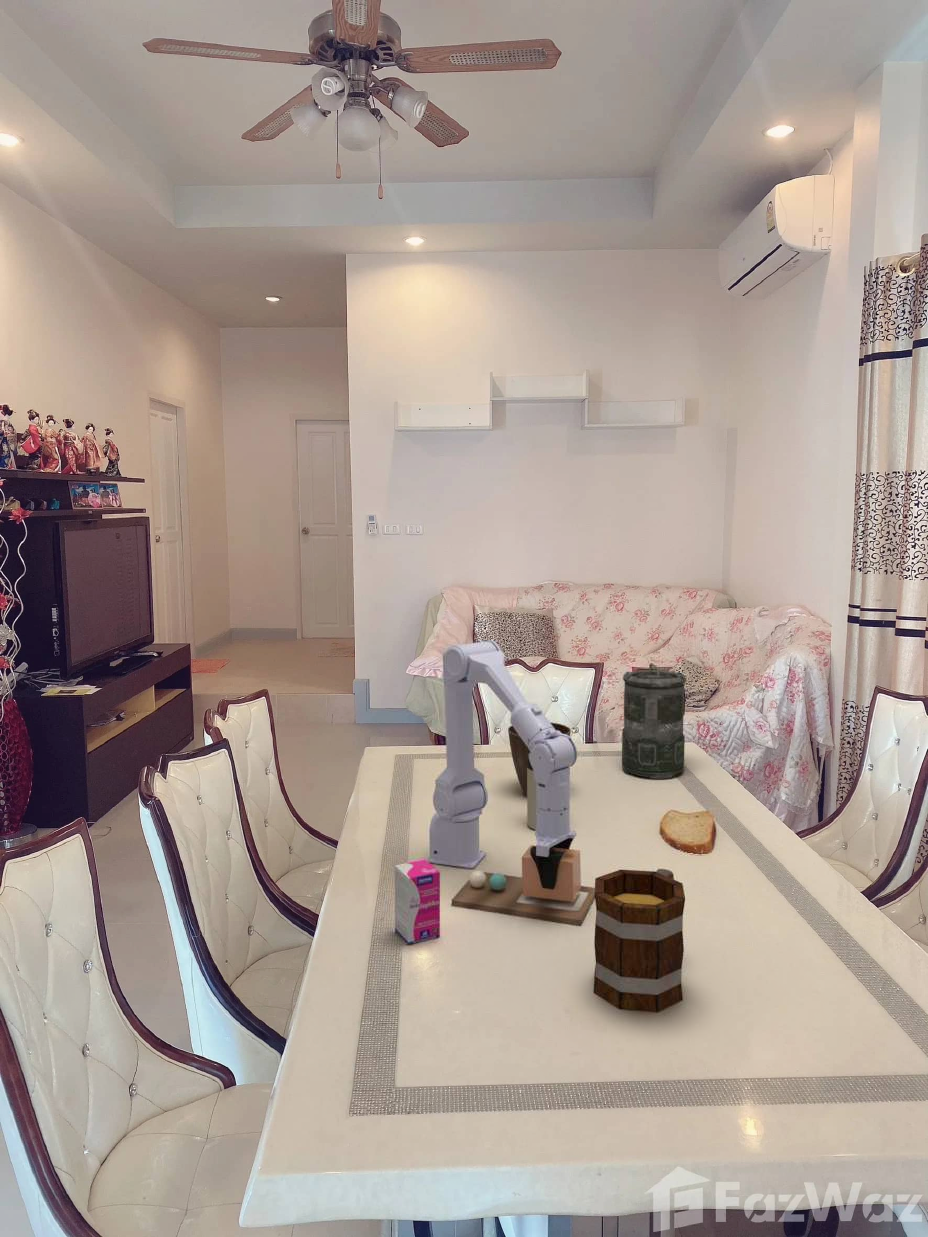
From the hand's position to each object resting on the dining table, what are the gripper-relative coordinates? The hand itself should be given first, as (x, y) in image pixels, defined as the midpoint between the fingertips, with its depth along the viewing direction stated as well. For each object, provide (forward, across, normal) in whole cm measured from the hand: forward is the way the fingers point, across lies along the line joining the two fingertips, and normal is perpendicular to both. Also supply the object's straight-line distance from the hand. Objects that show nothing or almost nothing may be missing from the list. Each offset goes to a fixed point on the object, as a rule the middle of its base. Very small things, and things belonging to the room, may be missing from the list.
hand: (552, 880), depth 155 cm
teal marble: (+2, 0, +10) cm, 10 cm away
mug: (+4, -19, -19) cm, 27 cm away
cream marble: (+2, 0, +14) cm, 14 cm away
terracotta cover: (+2, 0, 0) cm, 2 cm away
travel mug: (+4, +36, +11) cm, 38 cm away
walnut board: (+4, 0, +5) cm, 7 cm away
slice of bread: (+5, +41, -20) cm, 46 cm away
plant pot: (+4, +56, +18) cm, 59 cm away
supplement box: (+4, -18, +18) cm, 26 cm away
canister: (+4, +83, -5) cm, 83 cm away
